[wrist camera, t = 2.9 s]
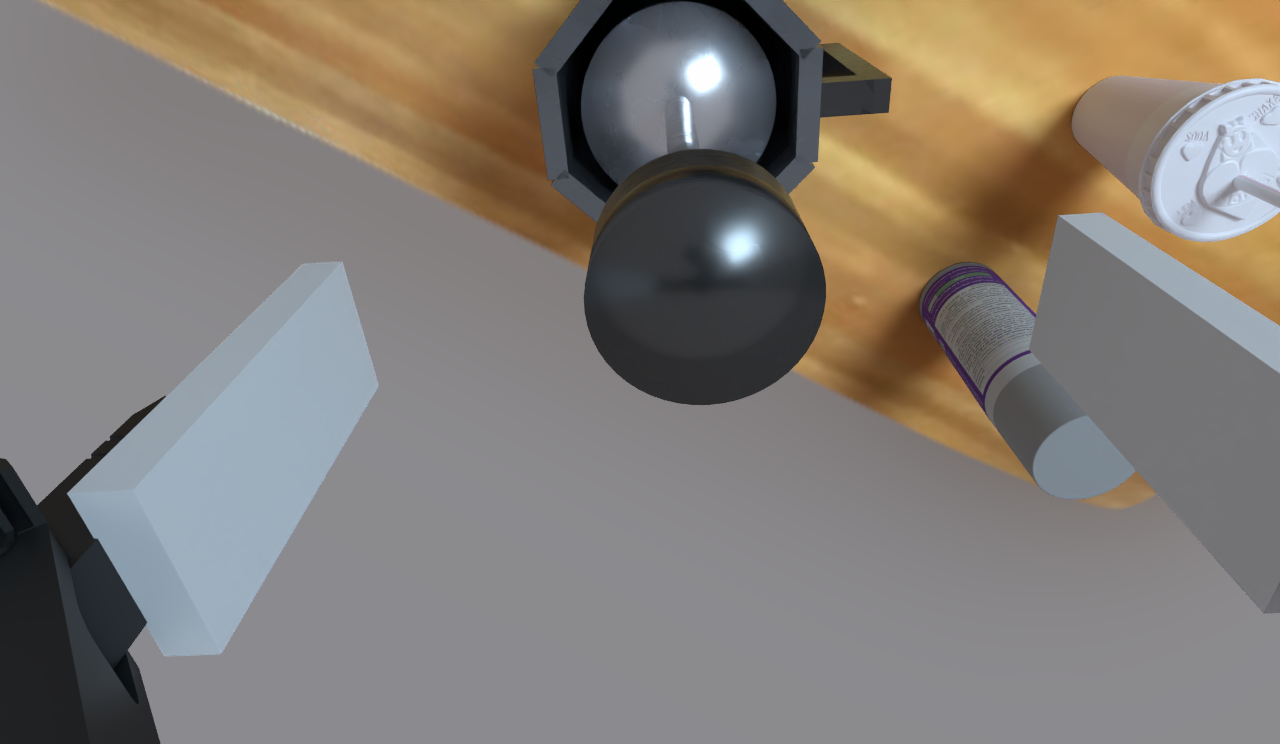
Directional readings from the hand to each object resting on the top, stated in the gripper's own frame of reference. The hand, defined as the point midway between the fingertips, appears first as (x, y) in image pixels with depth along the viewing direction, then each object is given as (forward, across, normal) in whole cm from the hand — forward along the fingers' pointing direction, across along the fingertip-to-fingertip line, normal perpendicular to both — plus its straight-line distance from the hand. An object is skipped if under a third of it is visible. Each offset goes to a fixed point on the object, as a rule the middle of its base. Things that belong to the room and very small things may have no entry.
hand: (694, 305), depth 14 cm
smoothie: (+27, +22, -4) cm, 35 cm away
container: (+27, +16, -14) cm, 34 cm away
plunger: (+17, 0, 0) cm, 17 cm away
